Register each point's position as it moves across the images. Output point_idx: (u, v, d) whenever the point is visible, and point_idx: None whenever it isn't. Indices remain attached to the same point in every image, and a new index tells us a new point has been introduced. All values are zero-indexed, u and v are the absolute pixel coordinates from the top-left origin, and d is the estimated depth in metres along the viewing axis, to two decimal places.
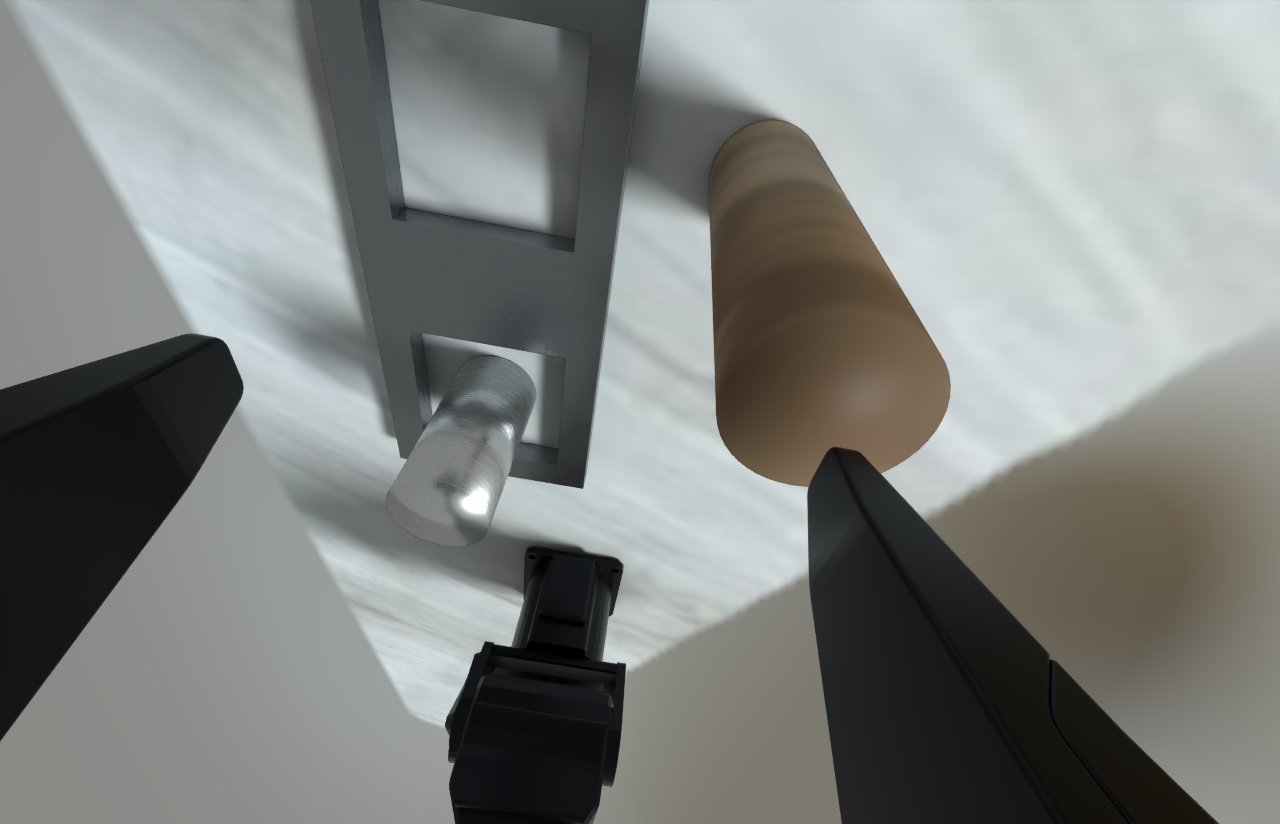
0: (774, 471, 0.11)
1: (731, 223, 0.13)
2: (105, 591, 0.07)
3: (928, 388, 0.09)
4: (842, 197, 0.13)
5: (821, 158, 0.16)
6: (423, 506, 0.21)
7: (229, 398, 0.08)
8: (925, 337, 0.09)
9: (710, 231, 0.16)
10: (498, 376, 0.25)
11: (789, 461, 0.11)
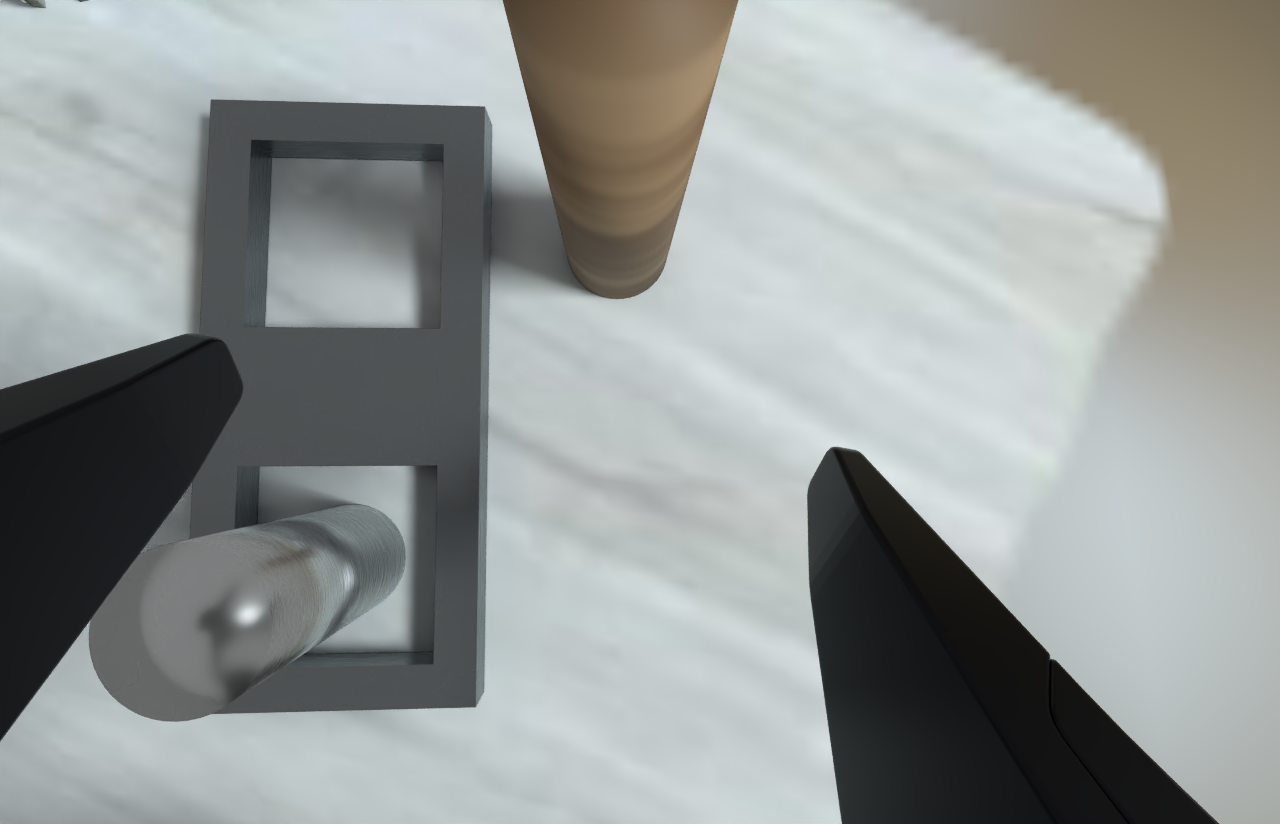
0: (592, 55, 0.08)
1: None
2: (105, 591, 0.07)
3: None
4: None
5: None
6: (158, 614, 0.12)
7: (229, 398, 0.08)
8: None
9: None
10: (349, 510, 0.19)
11: (604, 33, 0.08)
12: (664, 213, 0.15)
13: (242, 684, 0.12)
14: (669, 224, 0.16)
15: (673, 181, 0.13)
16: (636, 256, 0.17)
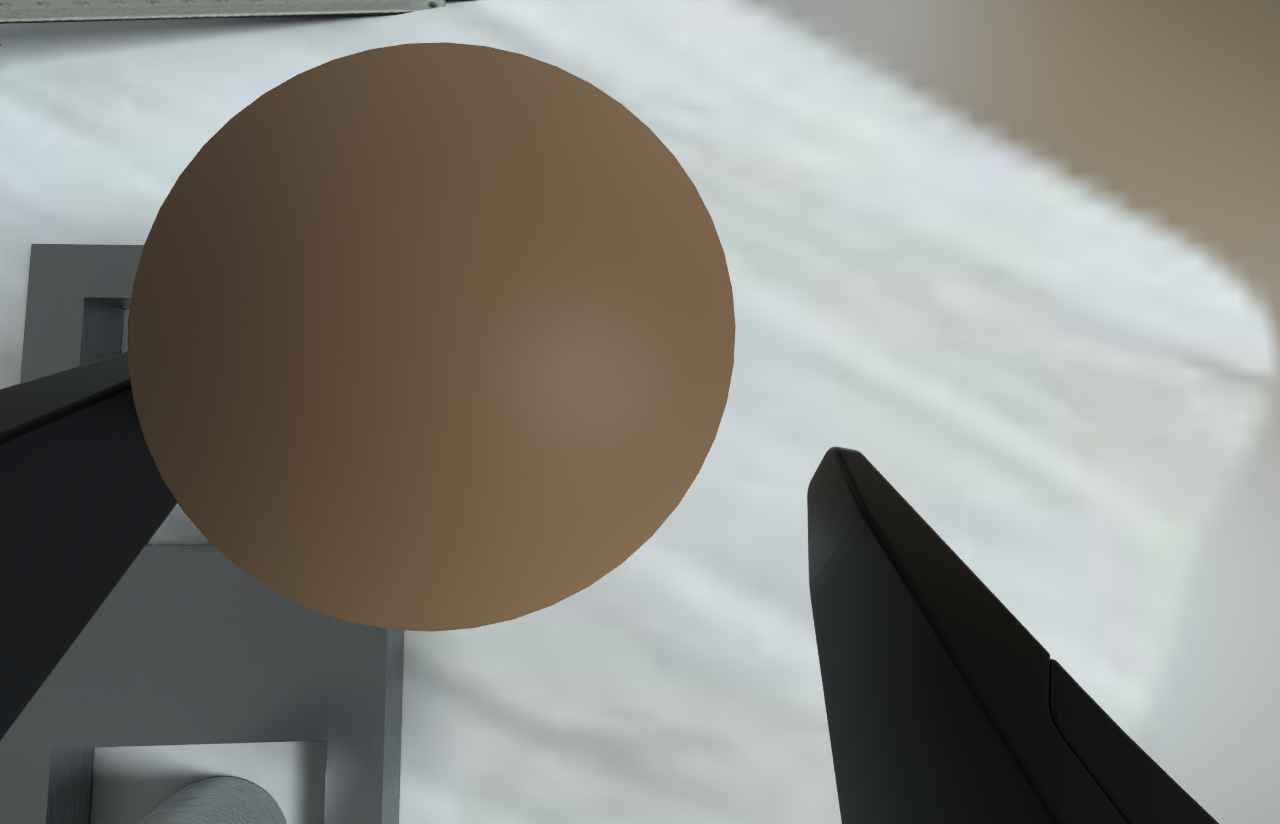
0: (365, 587, 0.03)
1: None
2: (105, 591, 0.07)
3: (650, 205, 0.04)
4: None
5: None
6: None
7: None
8: (578, 83, 0.04)
9: None
10: (202, 809, 0.14)
11: (395, 531, 0.03)
12: None
13: None
14: None
15: None
16: None
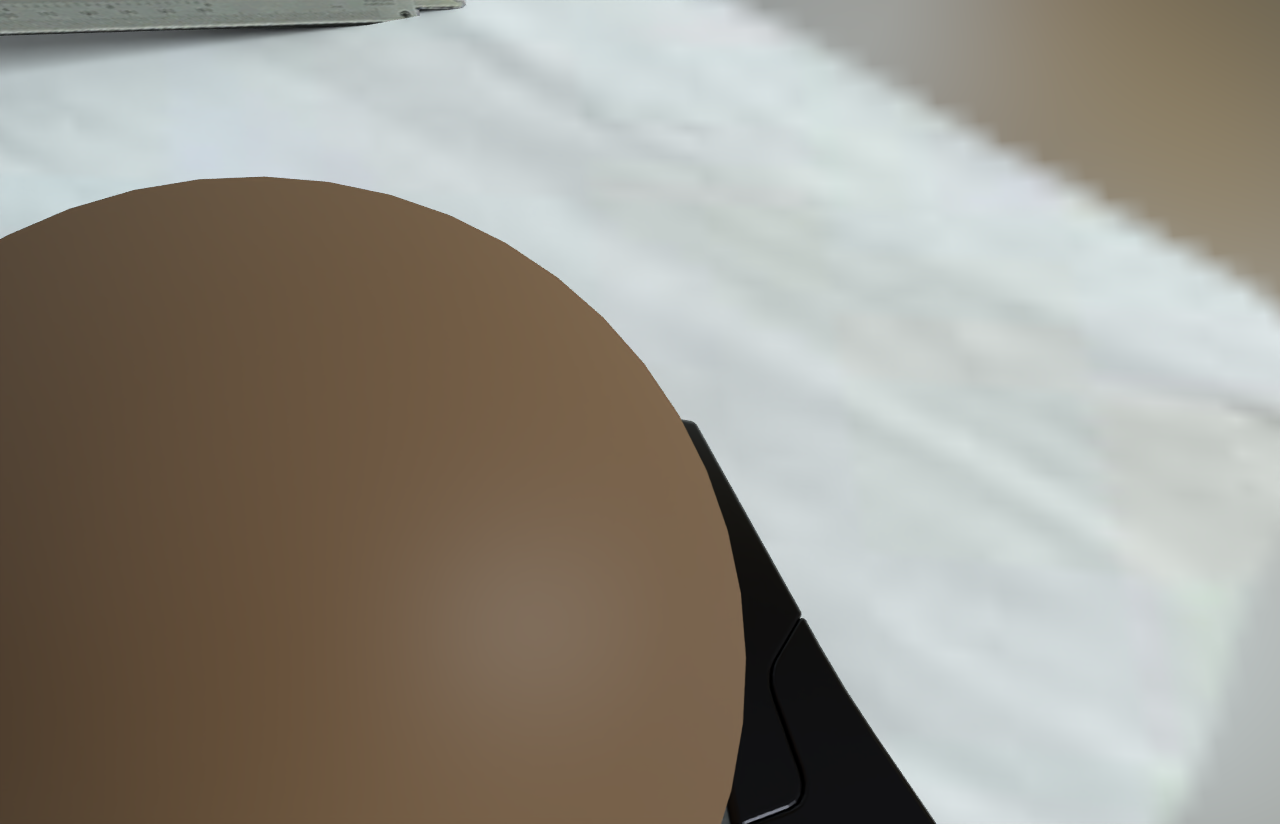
0: None
1: None
2: None
3: (606, 450, 0.02)
4: None
5: None
6: None
7: None
8: (488, 239, 0.02)
9: None
10: None
11: None
12: None
13: None
14: None
15: None
16: None
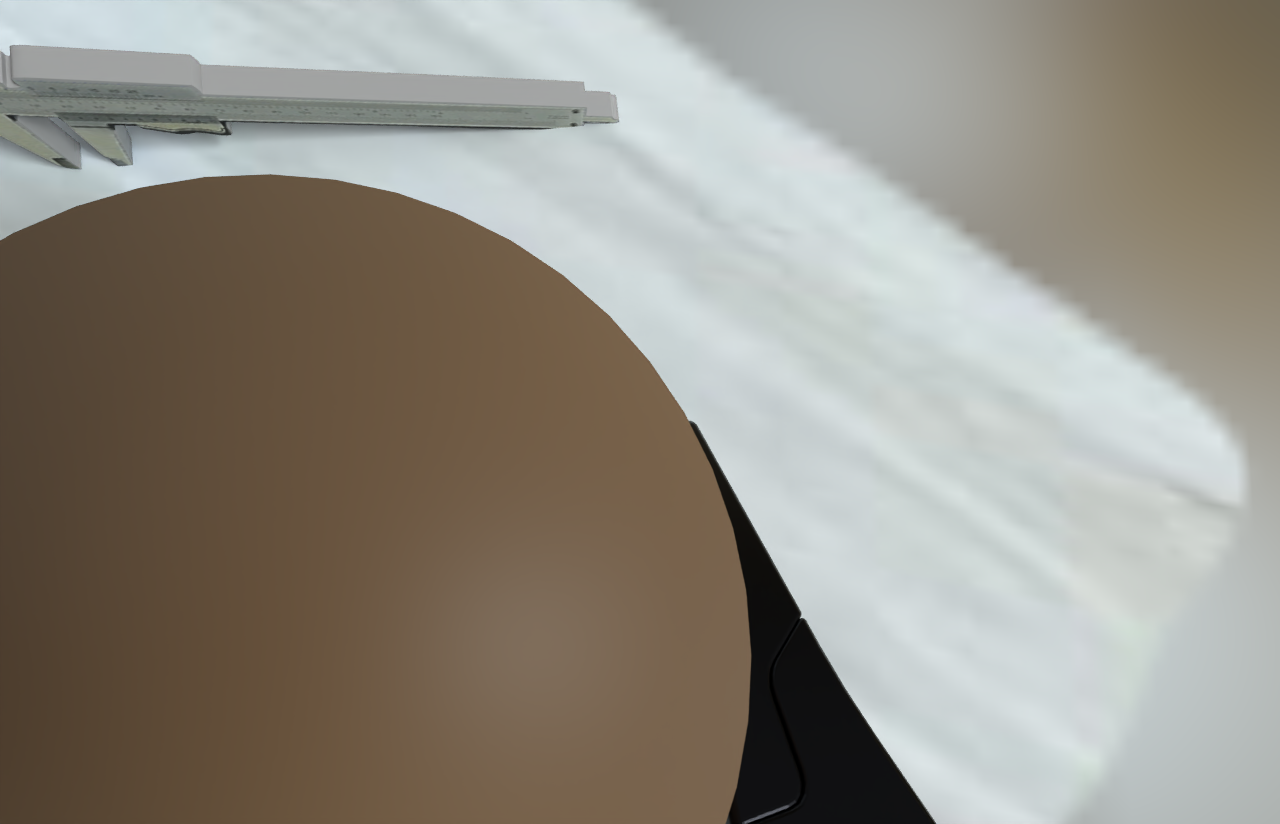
0: None
1: None
2: None
3: (611, 448, 0.02)
4: None
5: None
6: None
7: None
8: (494, 237, 0.02)
9: None
10: None
11: None
12: None
13: None
14: None
15: None
16: None
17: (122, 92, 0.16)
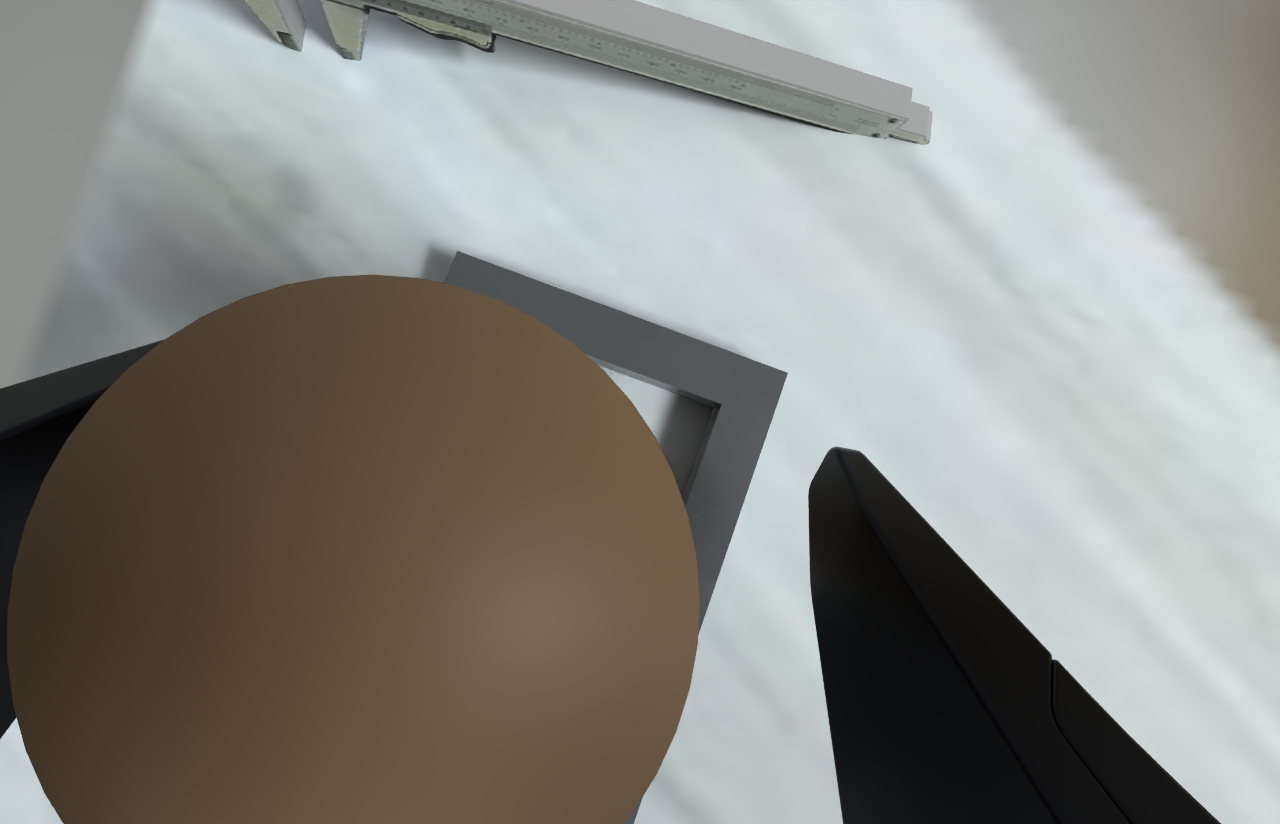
0: None
1: None
2: None
3: (605, 460, 0.03)
4: None
5: None
6: None
7: None
8: (524, 315, 0.03)
9: None
10: None
11: None
12: None
13: None
14: None
15: None
16: None
17: None
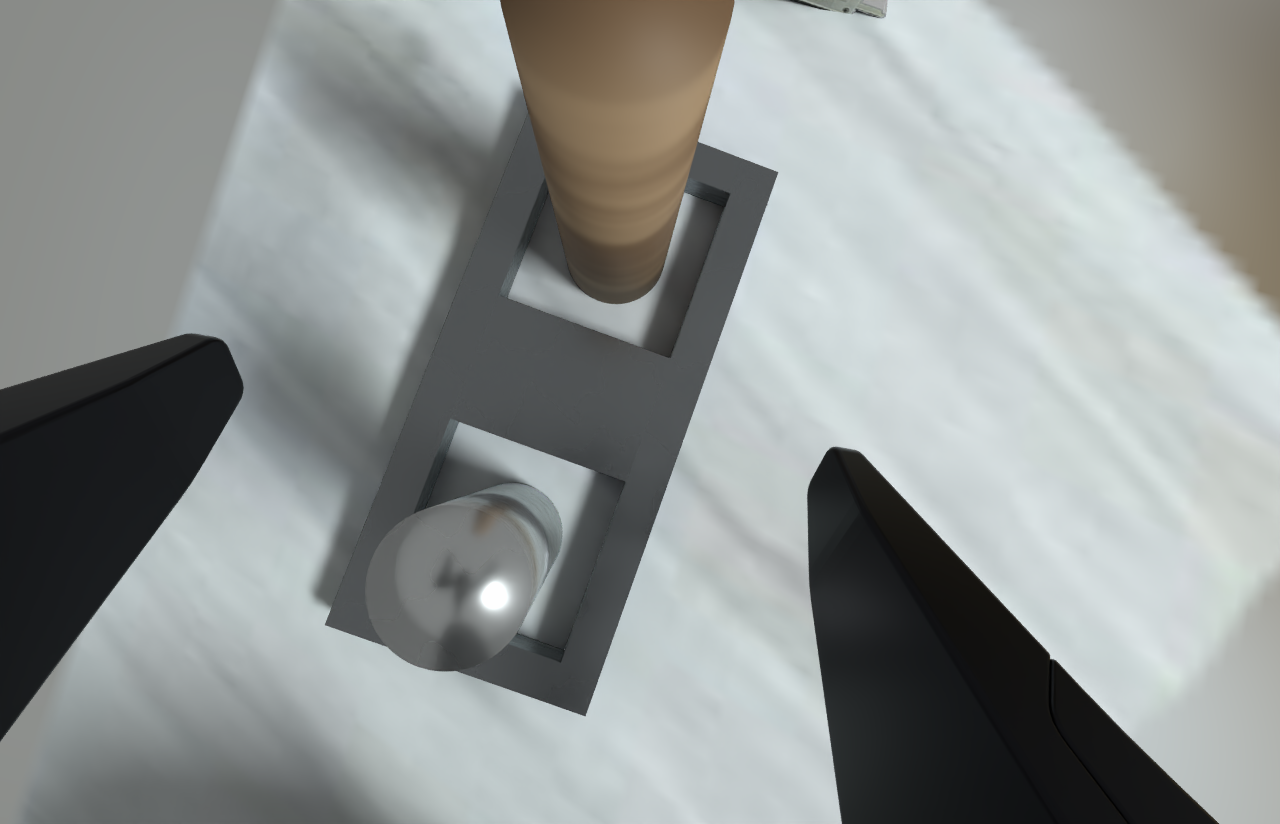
0: (591, 81, 0.09)
1: None
2: (105, 591, 0.07)
3: None
4: None
5: None
6: (435, 565, 0.13)
7: (229, 398, 0.08)
8: None
9: None
10: (535, 494, 0.20)
11: (602, 60, 0.09)
12: (661, 223, 0.15)
13: (485, 654, 0.13)
14: (666, 233, 0.16)
15: (669, 194, 0.13)
16: (634, 264, 0.17)
17: None
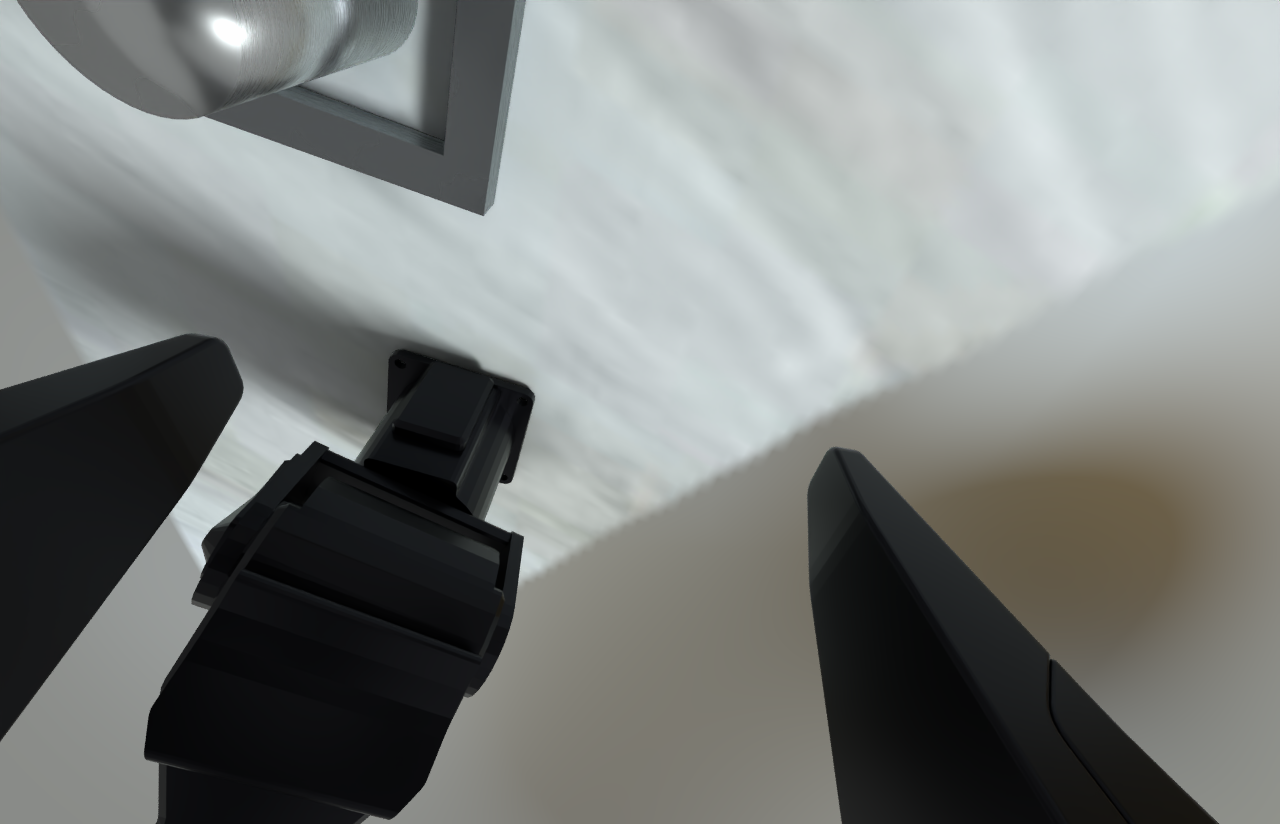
0: None
1: None
2: (105, 591, 0.07)
3: None
4: None
5: None
6: None
7: (229, 398, 0.08)
8: None
9: None
10: None
11: None
12: None
13: (216, 97, 0.10)
14: None
15: None
16: None
17: None
